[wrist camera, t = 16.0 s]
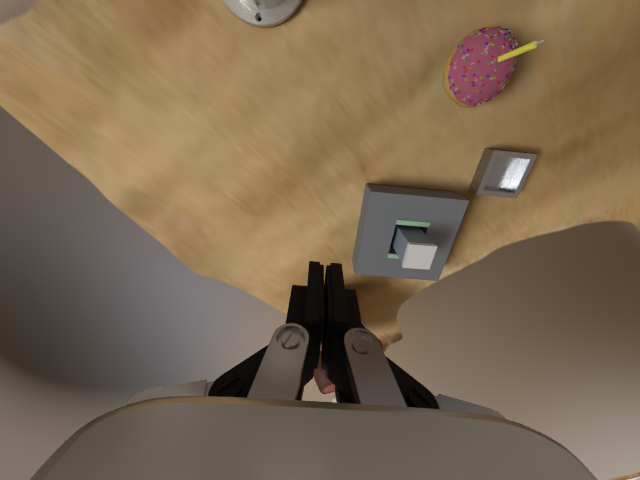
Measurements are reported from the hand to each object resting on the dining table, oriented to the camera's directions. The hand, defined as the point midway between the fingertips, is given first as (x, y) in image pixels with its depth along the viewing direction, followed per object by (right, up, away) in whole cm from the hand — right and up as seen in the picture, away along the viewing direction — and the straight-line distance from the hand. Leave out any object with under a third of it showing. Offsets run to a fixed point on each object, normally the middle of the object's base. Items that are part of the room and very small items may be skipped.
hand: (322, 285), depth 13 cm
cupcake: (+20, +27, +23) cm, 40 cm away
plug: (+15, +4, +33) cm, 36 cm away
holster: (+30, +14, +29) cm, 44 cm away
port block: (+15, +5, +34) cm, 37 cm away
